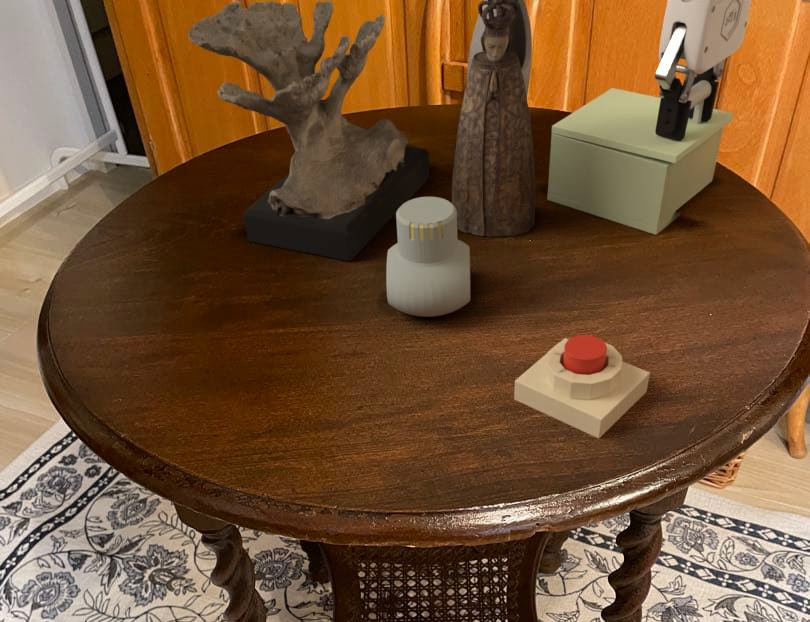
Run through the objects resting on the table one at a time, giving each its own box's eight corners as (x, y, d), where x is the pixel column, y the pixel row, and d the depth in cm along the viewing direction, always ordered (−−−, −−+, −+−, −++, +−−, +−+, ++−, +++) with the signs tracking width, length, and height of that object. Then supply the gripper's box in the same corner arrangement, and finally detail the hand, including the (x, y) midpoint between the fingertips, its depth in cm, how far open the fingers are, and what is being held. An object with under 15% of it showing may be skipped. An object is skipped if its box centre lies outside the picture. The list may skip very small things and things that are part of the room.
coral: (334, 279, 94) (304, 68, 78) (186, 244, 101) (131, 44, 85) (435, 178, 108) (428, -17, 92) (299, 154, 115) (271, -32, 99)
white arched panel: (511, 186, 106) (516, 15, 92) (454, 182, 107) (451, 14, 93) (537, 122, 117) (545, -38, 103) (486, 119, 119) (487, -39, 105)
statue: (474, 249, 96) (474, -4, 78) (444, 220, 101) (438, -25, 82) (542, 229, 98) (557, -23, 80) (509, 201, 103) (517, -42, 84)
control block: (646, 392, 78) (653, 355, 75) (598, 439, 74) (603, 402, 71) (563, 356, 82) (566, 321, 79) (513, 399, 78) (515, 363, 75)
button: (612, 360, 76) (615, 344, 74) (590, 381, 74) (592, 364, 73) (577, 346, 77) (579, 329, 76) (554, 366, 76) (556, 349, 74)
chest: (710, 190, 102) (724, 122, 96) (656, 235, 96) (667, 166, 90) (604, 159, 109) (611, 95, 103) (547, 199, 103) (551, 133, 97)
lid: (732, 120, 96) (741, 71, 92) (675, 163, 89) (682, 113, 86) (611, 94, 103) (615, 49, 99) (551, 133, 97) (553, 86, 93)
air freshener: (393, 274, 94) (386, 184, 86) (469, 271, 93) (468, 181, 86) (388, 332, 87) (380, 240, 79) (470, 330, 86) (470, 237, 79)
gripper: (714, -43, 74) (674, 166, 87) (800, -90, 82) (751, 108, 96) (637, -56, 77) (610, 147, 91) (727, -100, 85) (690, 93, 99)
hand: (683, 125), depth 93 cm, fingers closed on lid, 5 cm apart
